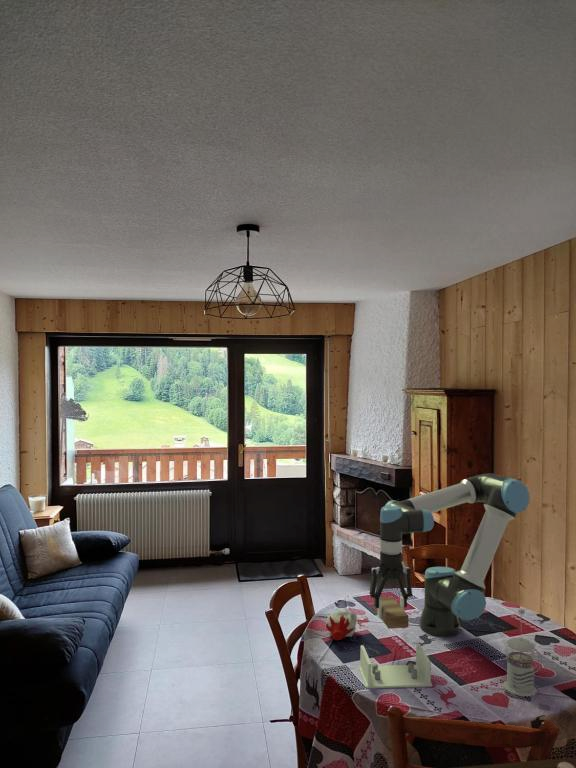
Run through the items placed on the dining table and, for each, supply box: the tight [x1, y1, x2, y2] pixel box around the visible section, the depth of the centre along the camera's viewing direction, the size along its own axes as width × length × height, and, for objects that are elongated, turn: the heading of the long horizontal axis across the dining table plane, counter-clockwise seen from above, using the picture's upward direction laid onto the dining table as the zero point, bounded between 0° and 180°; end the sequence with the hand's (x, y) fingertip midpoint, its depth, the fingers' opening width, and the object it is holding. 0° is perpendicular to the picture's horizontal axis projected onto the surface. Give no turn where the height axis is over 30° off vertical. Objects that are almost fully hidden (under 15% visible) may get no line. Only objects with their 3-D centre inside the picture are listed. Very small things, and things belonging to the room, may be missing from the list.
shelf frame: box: [358, 643, 433, 689], centre depth 179 cm, size 21×12×8 cm, turn 94°
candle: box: [325, 610, 358, 641], centre depth 206 cm, size 9×11×15 cm
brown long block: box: [373, 596, 409, 630], centre depth 193 cm, size 16×7×4 cm, turn 9°
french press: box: [503, 608, 543, 697], centre depth 174 cm, size 10×12×25 cm
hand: (390, 616), depth 193 cm, fingers closed on brown long block, 7 cm apart
